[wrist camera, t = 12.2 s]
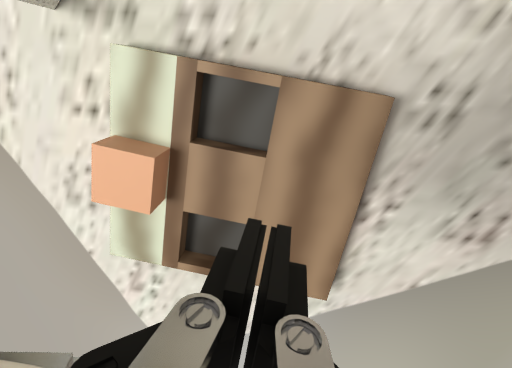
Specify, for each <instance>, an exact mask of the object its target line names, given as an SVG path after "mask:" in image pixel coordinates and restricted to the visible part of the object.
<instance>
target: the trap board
mask: <svg viewBox="0 0 512 368" xmlns="http://www.w3.org/2000/svg"><path fill="white" fill-rule="evenodd" d="M394 99H395V98H393V97H390V96H386V95H381V94H376V93H371V92H366V91H360V90H355V89H350V88H345V87H340V86H334V85H329V84H324V83H319V82H313V81H308V80H303V79H298V78H293V77H287V76H282V75H277V74H272V73H267V72H261V71H256V70H251V69H246V68H241V67H235V66H230V65H225V64H220V63H215V62H209V61H204V60H199V59H194V58H189V57H183V56H178V55H173V54H168V53H162V52H157V51H152V50H147V49H142V48H136V47H131V46H126V45H119V44H112V43H110V137H111V136H113V135H117V136H121V137H126V138H130V139H135V140H139V141H143V142H148V143H152V144H156V145H161V146H165V147H169V148H170V156H169V165H168V175H167V185H166V195H165V199H164V201H163V202H162V203H161V204H160V205H159V206H158V207H157V208H156V209H155V210H154V211H153V212H152V213H151V214H150V215H148V214H144V213H139V212H135V211H131V210H126V209H122V208H118V207H114V206H110V255H115V256H120V257H125V258H129V259H134V260H139V261H143V262H148V263H153V264H157V265H162V266H167V267H172V268H176V269H181V270H186V271H190V272H195V273H200V274H204V275H208V274H209V272H210V269H211V267H212V265H213V262H214V260H215V258H216V256H217V253H218V251H219V249H220V247H226V248H230V249H235V250H238V247H239V244H240V241H241V238H242V235H243V232H244V229H245V226H246V223H247V220H248V218H252V219H257V220H262V225H267V227H266V232H265V237H264V242H263V247H262V252H261V257H260V262H259V268H258V273H257V278H256V283H255V285H256V286H259V284H260V279H261V274H262V269H263V264H264V259H265V255H266V250H267V245H268V240H269V235H270V230H271V226H272V227H277V224H281V225H286V226H290V227H292V229H291V246H290V262H295V263H299V264H304V265H306V267H307V296H308V297H312V298H317V299H322V300H326V301H327V298H328V295H329V292H330V289H331V286H332V283H333V280H334V277H335V274H336V271H337V268H338V265H339V262H340V259H341V256H342V253H343V250H344V247H345V244H346V241H347V238H348V235H349V232H350V229H351V226H352V223H353V220H354V217H355V214H356V212H357V209H358V206H359V203H360V200H361V197H362V194H363V191H364V188H365V185H366V182H367V179H368V176H369V173H370V170H371V167H372V164H373V161H374V158H375V155H376V152H377V149H378V146H379V143H380V140H381V137H382V134H383V131H384V128H385V125H386V122H387V119H388V116H389V113H390V110H391V107H392V104H393V101H394Z"/></svg>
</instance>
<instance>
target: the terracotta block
mask: <svg viewBox="0 0 512 368" xmlns="http://www.w3.org/2000/svg"><path fill="white" fill-rule="evenodd" d="M169 156H170V148H169V147H165V146H161V145H156V144H152V143H148V142H143V141H139V140H135V139H130V138H126V137H121V136H117V135H113V136H111V137H108V138H106V139H103V140H100V141H98V142H95V143H92V202H97V203H101V204H105V205H109V206H114V207H118V208H122V209H126V210H131V211H135V212H139V213H144V214H148V215H150V214H151V213H152V212H153V211H154V210H155V209H156V208H157V207H158V206H159V205H160V204H161V203H162V202H163V201H164V199H165V195H166V185H167V175H168V165H169Z"/></svg>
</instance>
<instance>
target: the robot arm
mask: <svg viewBox="0 0 512 368" xmlns="http://www.w3.org/2000/svg"><path fill="white" fill-rule="evenodd" d="M266 227H267V225H262V220H257V219H252V218H248V220H247V223H246V226H245V229H244V232H243V235H242V238H241V241H240V244H239V247H238V250H235V249H230V248H226V247H220V249H219V251H218V253H217V256H216V258H215V260H214V262H213V265H212V267H211V269H210V272H209V274H208V276H207V278H206V281H205V283H204V285H203V288H202V290H201V292H200V293H194V294H190V295H187V296H185V297H183V298H181V299H180V300H179V301H178V302H177V303H176V305H175V306H174V307H173V309H172V310H171V311H170V313H169V314H168V315H167V317H166V318H165V319H164V321H162V322H160V323H158V324H155V325H153V326H150V327H148V328H145V329H143V330H141V331H138V332H135V333H133V334H130V335H128V336H126V337H123V338H121V339H118V340H116V341H114V342H111V343H108V344H106V345H103V346H101V347H98V348H96V349H94V350H92V351H90V352H88V353H86V354H84V355H83V356H81V357H73V354H72V353H50V352H49V353H48V352H0V368H238V365H239V359H240V355H241V350H242V345H243V340H244V336H245V331H246V326H247V321H248V316H249V312H250V307H251V302H252V297H253V292H254V287H255V283H256V278H257V273H258V268H259V262H260V257H261V252H262V247H263V242H264V237H265V232H266ZM291 229H292V227H290V226H286V225H281V224H277V227H272V226H271V230H270V235H269V240H268V245H267V250H266V255H265V259H264V264H263V269H262V274H261V279H260V284H259V289H258V294H257V299H256V305H255V310H254V315H253V320H252V326H251V331H250V336H249V342H248V347H247V352H246V358H245V363H244V368H338V366H337V365H336V364H335V363H334V362H333V359H332V355H331V352H330V348H329V344H328V340H327V337H326V335H325V332H324V331H323V329H322V328H321V327H320V326H319V325H318V324H317V323H316V322H315V321H313V320H311V319H310V318H308V299H307V267H306V265H304V264H299V263H295V262H290V246H291Z"/></svg>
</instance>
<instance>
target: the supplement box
mask: <svg viewBox="0 0 512 368" xmlns="http://www.w3.org/2000/svg"><path fill="white" fill-rule="evenodd" d="M19 1H23V2H27V3H31V4H35V5H38V6H42V7H46V8H50V9H55V8H56V6H57V4H58V3H59V1H60V0H19Z"/></svg>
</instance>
